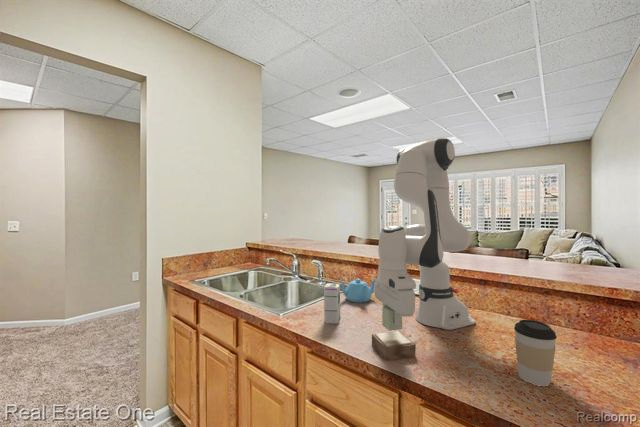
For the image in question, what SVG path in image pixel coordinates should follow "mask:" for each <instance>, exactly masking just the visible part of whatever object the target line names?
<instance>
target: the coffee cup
mask: <svg viewBox="0 0 640 427" xmlns="http://www.w3.org/2000/svg"><path fill="white" fill-rule="evenodd" d="M513 329H514V333H515V334H514V336H515V337H514V340H515V342H514V343H515V353H516V354H515V355H516V361H517V372H518V377H519V379H521V380H522V379H523V380H524V381H523V380H522V381H523V382H525V381H527V382H529V383H532V384H535V385H540V386H547V385H549V384H550V383H551V384H552V380H551V379H552V373H553V370H554V364H555V353H556V345H555V344H556V339H558V338H557V335H556V332H555V330H554V329H552V327H551V325H549V324H547V323H545V322H543V321H538V320H535V319H534V320H533V319H520V320H519V321H517V322H516V323H514V328H513ZM527 382H526V383H527ZM529 383H528V384H529ZM532 384H531V385H532ZM551 384H550V385H551ZM535 385H534V386H535Z"/></svg>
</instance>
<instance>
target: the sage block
mask: <svg viewBox="0 0 640 427" xmlns="http://www.w3.org/2000/svg"><path fill="white" fill-rule="evenodd" d="M381 307H382V308H381V313H382V314H381V316H382V319H381V320H382V322H381V324H382V327H384V328H385V329H386V330H388V332H392V331H400V330H403V317H402V318H401V324H400V325H396V324H394V323H393V318H395V315H396V314H395V311H394V310H393V309H391V308H390V307H388V306H385V307H383V306H381Z"/></svg>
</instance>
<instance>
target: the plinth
mask: <svg viewBox="0 0 640 427" xmlns="http://www.w3.org/2000/svg"><path fill="white" fill-rule="evenodd" d="M371 346H372V347H373V348H374V349H375V351H377V353H378V354H379V355H380V356H381V357H382V358H383V359H384V361H390V360H398V359H399V360H400V359H405V358H411V357H412V358H413V357H416V355H417V354H416V346H417V345H416V343H414V342H413V341H412V340H411V339H409V338H408V337H407V336H405V334H403V333H402V332H401V331H400V330H394V331H387V332H378V333H372V334H371Z"/></svg>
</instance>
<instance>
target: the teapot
mask: <svg viewBox="0 0 640 427" xmlns="http://www.w3.org/2000/svg"><path fill="white" fill-rule="evenodd" d="M375 281H376V278H374V279H372V281H371V283H370V287H369V285H368V284H367V282H366V281H363V280H362V279H361V278H356V279H354V280H351V281H350V282H349V283H348V285H347V286H345V282H344V281H342V280H339V283H340V285H341V291H342V294H343V295H344V296H345V298H346V299H347V301H349V302H351V303H356V304H357V303H366V302H369V301H370V300H371V298H372V294H373V293H375Z"/></svg>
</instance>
